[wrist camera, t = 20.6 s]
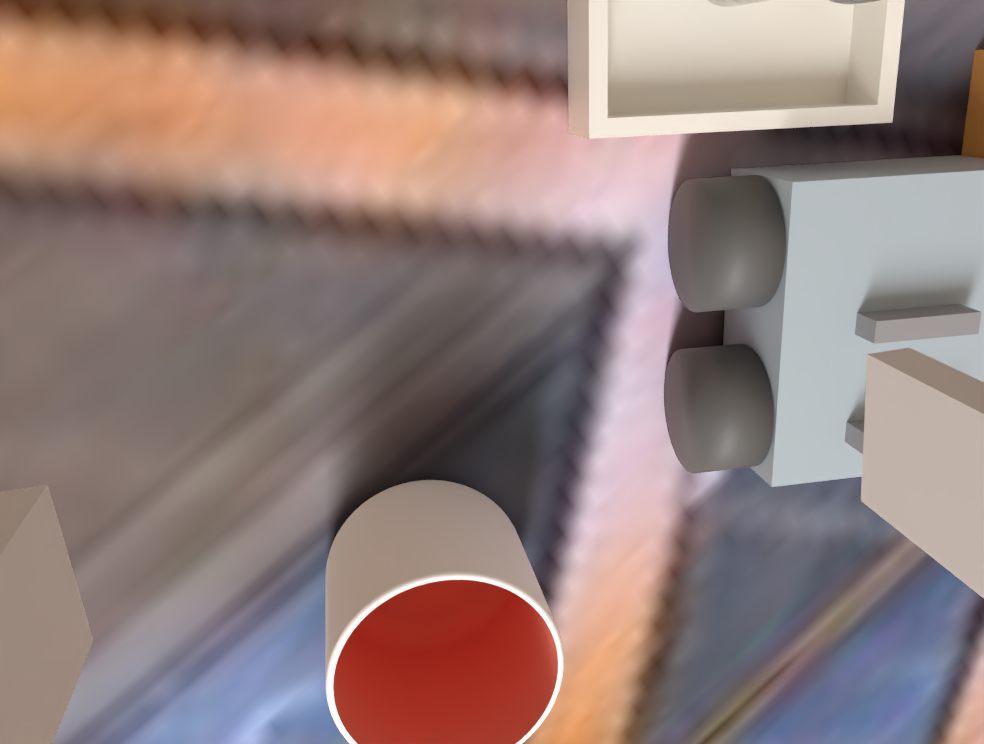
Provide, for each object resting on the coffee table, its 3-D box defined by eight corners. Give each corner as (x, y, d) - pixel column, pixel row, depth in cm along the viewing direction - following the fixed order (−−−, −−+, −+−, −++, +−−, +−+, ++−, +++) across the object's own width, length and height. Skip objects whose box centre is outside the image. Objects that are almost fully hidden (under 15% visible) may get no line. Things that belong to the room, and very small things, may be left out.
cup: (535, 608, 49) (585, 734, 39) (357, 664, 48) (365, 807, 38) (493, 446, 45) (536, 542, 36) (300, 503, 44) (293, 617, 35)
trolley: (669, 172, 42) (737, 191, 35) (1021, 151, 45) (1150, 164, 38) (662, 444, 47) (722, 509, 40) (983, 409, 50) (1092, 464, 43)
